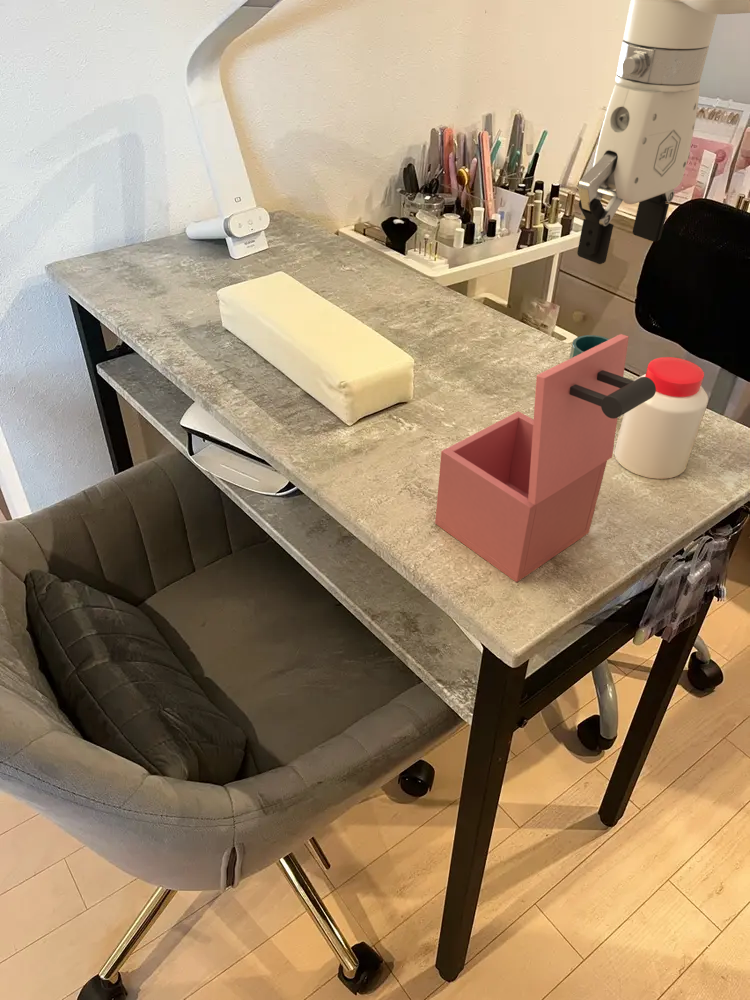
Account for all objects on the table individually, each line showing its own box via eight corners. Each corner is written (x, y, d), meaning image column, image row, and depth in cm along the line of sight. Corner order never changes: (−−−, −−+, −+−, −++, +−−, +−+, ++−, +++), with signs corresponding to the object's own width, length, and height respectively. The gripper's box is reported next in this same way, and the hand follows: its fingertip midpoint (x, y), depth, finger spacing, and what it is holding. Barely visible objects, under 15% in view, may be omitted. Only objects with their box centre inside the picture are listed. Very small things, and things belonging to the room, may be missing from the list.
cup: (610, 386, 96) (621, 339, 92) (605, 407, 92) (616, 359, 88) (566, 378, 98) (576, 332, 94) (560, 399, 94) (569, 351, 90)
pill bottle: (600, 456, 85) (621, 368, 78) (638, 430, 89) (662, 344, 82) (662, 488, 80) (690, 398, 73) (700, 459, 84) (730, 371, 77)
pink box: (434, 523, 75) (441, 450, 70) (507, 481, 81) (518, 410, 75) (516, 582, 69) (530, 507, 64) (588, 533, 75) (607, 459, 69)
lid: (536, 374, 57) (599, 398, 54) (620, 333, 63) (683, 352, 59) (527, 501, 64) (583, 530, 60) (604, 454, 69) (660, 477, 65)
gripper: (640, 85, 64) (598, 281, 75) (746, 61, 73) (694, 240, 84) (568, 69, 68) (538, 257, 79) (676, 49, 77) (636, 220, 88)
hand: (619, 248), depth 81 cm, fingers open, 9 cm apart
